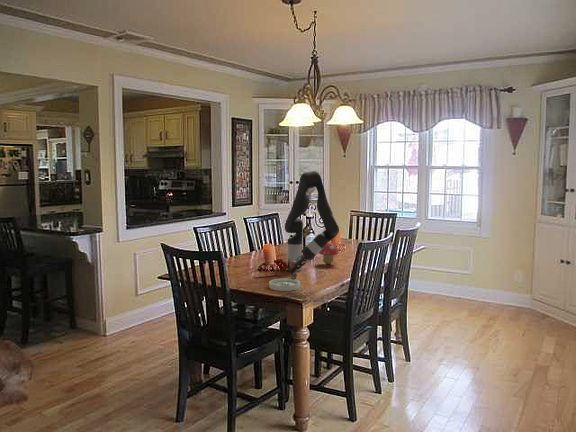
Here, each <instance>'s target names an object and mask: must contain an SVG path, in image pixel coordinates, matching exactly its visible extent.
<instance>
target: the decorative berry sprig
mask: <svg viewBox="0 0 576 432" xmlns="http://www.w3.org/2000/svg"><path fill="white" fill-rule="evenodd" d="M273 261H274V262H273V263H274V264H275V266H276V267H275V275H265V276H254V278H253V279H255V278H256V279H266V277H267V278H276V277H281V275H277V274H278V270H279V268H280V270H279V271H282V270H283V271H286V270H287V268H288V265H287V262H286V261H284V260H283V258H276V259H274V260H273ZM277 265H278V266H279V268H278V266H277ZM286 277H290V275H286Z"/></svg>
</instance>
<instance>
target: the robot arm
mask: <svg viewBox="0 0 576 432" xmlns="http://www.w3.org/2000/svg"><path fill="white" fill-rule="evenodd" d="M312 188H315V189H316V191H317V199H316V209H317V212H318V215H319V217H320V219H321V220H322V224H323V226H324V230H323V231H322V232H321V233H319V234H317V235H316V236H315V237H314V238H313V239H312V240H311V241H310V242H309V243H308V244H306V246H304V248H303V233H304V231H303V230H304V222H303V219H302V218H300V217H301V216H303V215H304V214H305V213H306V212H307V210H308V208H309V205H310V198H309V195H308V194H307V193H308V192H307V191H308V190H310V189H312ZM284 230H285V232H286V233H288V234H294V235H293V236H291V237H288V238H287V244H286V246H287V249H286V251H287V254H286V255H287V256H286V257H287V262H286V263H287V265H288V268H287V269H286V270H287V271H288V273H290V274H293V273H294V272H295V271H296V269H297V272H301V271H302V270H303V267H304V266H305V265H306V264H307V263H306V262H307V260H309V261H312V260H313V259H315V257H316V256H317V255H318V254H319V252H320V250H321V249H322V248H323V247H324V246H325V245H326V244H327V243H328V242H329V243H330V242H331V241H332V240H333V239H334V238H336V237H337V236H338V234H339V233H340V226H338V223H337V222H336V219H335V218H334V214H333V211H332V209H331V206H330V204H329V202H328V198H327V195H326V190H325V187H324V183H323V179H322V176H321V174H320V172H319V171H317V170H312V171H308V172H303V173H302V174H301V175H300V177H299V181H298V187H297V190H296V194H295V197H294V200H293V202H292V206H291V209H290V212H289V213H288V215H287V218H286V220H285V224H284ZM291 261H296V265H295V266H294V267H293V268H292V269H291V266H290V263H291ZM290 269H291V270H290Z"/></svg>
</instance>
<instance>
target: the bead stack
mask: <svg viewBox="0 0 576 432" xmlns="http://www.w3.org/2000/svg"><path fill="white" fill-rule="evenodd" d="M295 265H296V261H291V263H290V266H291V269H292V268H293V267H294V266H295ZM291 269H290V270H291ZM297 272H298V271H297V269H296V271H295V272H294V273H293V274H291V273H290V276H289V277H290V279H292V280H297V276H298V275H297Z"/></svg>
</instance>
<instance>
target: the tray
mask: <svg viewBox="0 0 576 432" xmlns="http://www.w3.org/2000/svg"><path fill="white" fill-rule="evenodd" d="M300 281H301V280H298V279H295V280H292V279H291V278H273V279H272V280H270V281H269V282H268V284H269V285H268V287H269V288H268V289H271V290H274V291H280V292H289V291H290V292H291V291H296V290H298V289H301V282H300Z"/></svg>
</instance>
